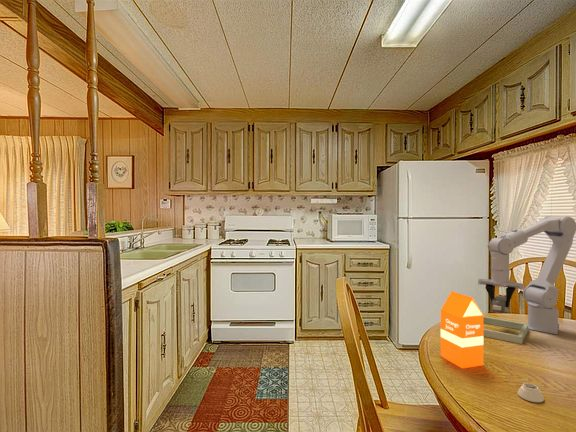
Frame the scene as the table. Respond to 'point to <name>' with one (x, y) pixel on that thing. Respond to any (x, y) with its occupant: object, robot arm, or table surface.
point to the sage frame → (505, 336)
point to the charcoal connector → (499, 304)
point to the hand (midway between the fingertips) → (500, 305)
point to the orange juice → (462, 331)
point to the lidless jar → (530, 393)
